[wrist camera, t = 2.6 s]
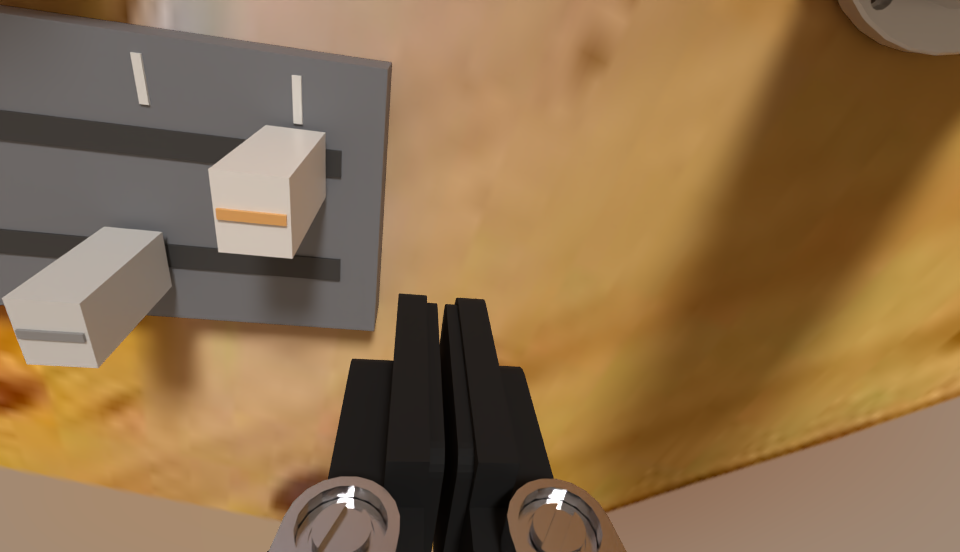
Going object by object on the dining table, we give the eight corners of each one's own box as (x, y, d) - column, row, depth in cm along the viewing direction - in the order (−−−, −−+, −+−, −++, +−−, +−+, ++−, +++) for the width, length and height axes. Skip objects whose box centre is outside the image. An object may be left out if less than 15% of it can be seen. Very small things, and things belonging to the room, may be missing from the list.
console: (392, 62, 19) (387, 69, 17) (378, 306, 24) (373, 332, 22) (-481, -66, 15) (-609, -75, 13) (-268, 257, 20) (-338, 282, 18)
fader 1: (162, 232, 19) (77, 305, 14) (172, 286, 20) (96, 370, 15) (104, 226, 18) (-2, 300, 14) (117, 282, 19) (24, 366, 15)
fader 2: (325, 132, 17) (288, 179, 13) (325, 196, 18) (291, 260, 14) (265, 125, 17) (206, 170, 13) (269, 191, 18) (216, 253, 14)
